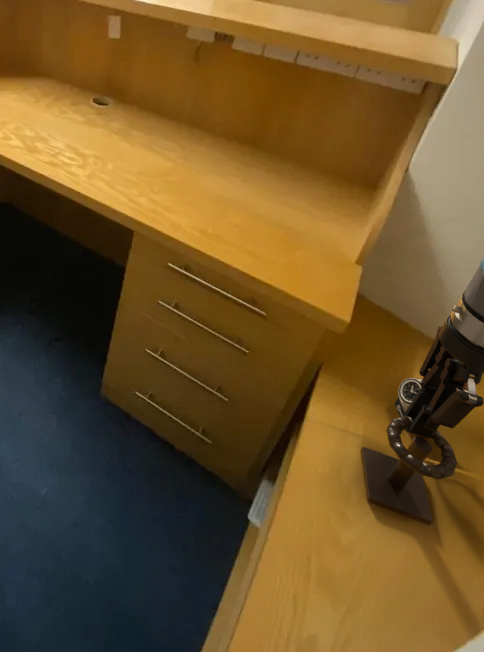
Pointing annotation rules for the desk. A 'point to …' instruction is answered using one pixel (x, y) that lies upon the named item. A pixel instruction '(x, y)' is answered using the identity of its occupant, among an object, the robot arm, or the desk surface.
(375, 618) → the desk surface
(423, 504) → the stand
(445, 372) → the robot arm
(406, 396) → the watch
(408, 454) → the brown beaded bracelet ring
